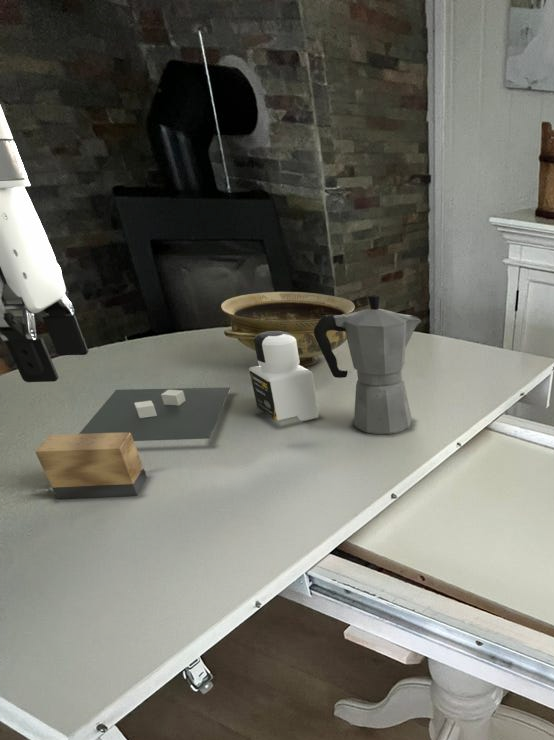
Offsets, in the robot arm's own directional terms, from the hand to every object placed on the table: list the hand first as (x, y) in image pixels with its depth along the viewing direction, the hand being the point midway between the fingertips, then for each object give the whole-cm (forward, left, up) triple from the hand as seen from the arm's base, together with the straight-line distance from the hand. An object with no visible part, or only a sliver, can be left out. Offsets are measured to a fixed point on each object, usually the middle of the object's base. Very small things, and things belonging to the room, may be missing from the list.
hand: (58, 366), depth 64 cm
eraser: (-1, 0, -14) cm, 14 cm away
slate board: (+1, +23, -14) cm, 27 cm away
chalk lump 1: (0, +22, -13) cm, 26 cm away
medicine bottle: (+20, +23, -15) cm, 34 cm away
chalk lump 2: (+3, +27, -13) cm, 30 cm away
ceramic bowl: (+20, +53, -15) cm, 59 cm away
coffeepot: (+34, +18, -15) cm, 41 cm away
